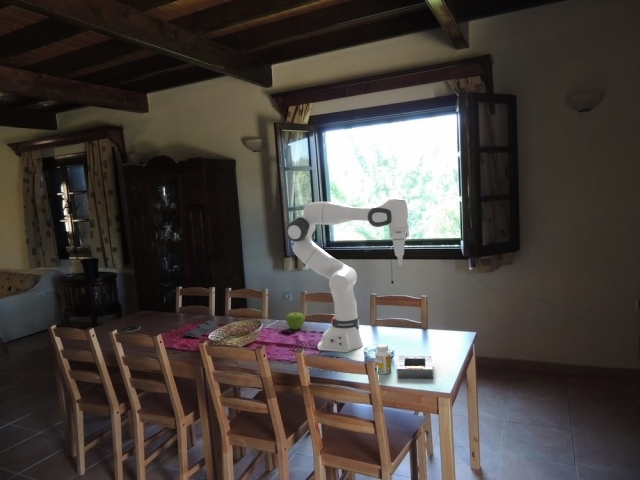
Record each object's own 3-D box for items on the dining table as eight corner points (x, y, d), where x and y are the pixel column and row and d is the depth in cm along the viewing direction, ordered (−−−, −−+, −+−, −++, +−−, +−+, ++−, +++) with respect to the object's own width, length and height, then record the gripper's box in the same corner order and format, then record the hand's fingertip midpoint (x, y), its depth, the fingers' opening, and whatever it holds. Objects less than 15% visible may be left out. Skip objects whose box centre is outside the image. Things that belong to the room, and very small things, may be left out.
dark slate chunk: (179, 338, 258) (178, 330, 258) (205, 326, 277) (204, 319, 277) (198, 340, 251) (197, 332, 250) (224, 328, 270) (223, 321, 270)
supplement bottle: (389, 367, 190) (388, 342, 189) (392, 373, 184) (391, 347, 183) (375, 369, 190) (373, 343, 189) (377, 374, 184) (376, 348, 183)
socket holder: (397, 378, 179) (396, 368, 178) (399, 364, 192) (398, 355, 192) (433, 378, 176) (432, 368, 175) (432, 365, 189) (431, 355, 189)
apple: (308, 327, 258) (307, 310, 257) (298, 332, 249) (297, 315, 248) (293, 325, 264) (292, 308, 263) (283, 330, 255) (281, 313, 254)
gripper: (393, 231, 214) (394, 259, 215) (391, 236, 194) (392, 267, 195) (406, 230, 212) (407, 259, 214) (405, 235, 192) (407, 266, 194)
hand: (400, 263), depth 204 cm, fingers open, 8 cm apart
